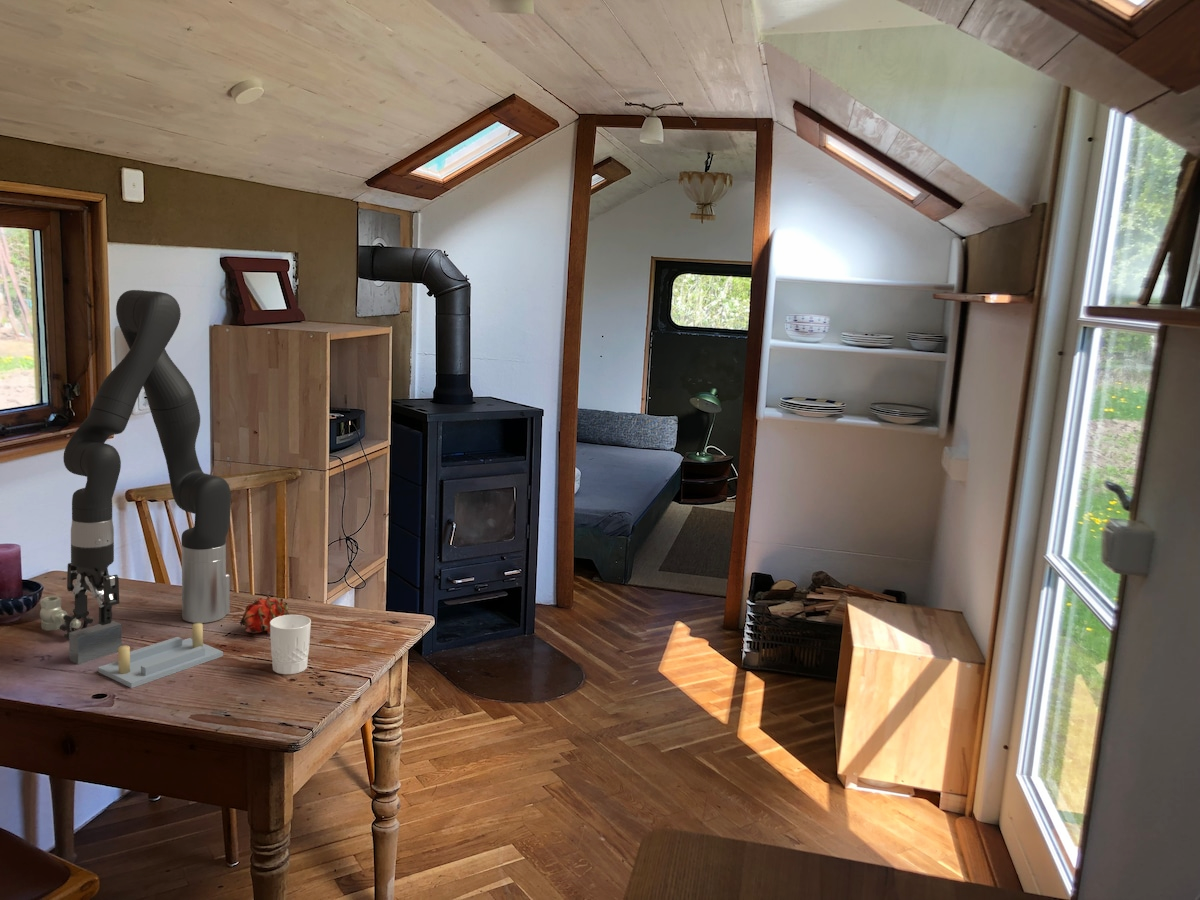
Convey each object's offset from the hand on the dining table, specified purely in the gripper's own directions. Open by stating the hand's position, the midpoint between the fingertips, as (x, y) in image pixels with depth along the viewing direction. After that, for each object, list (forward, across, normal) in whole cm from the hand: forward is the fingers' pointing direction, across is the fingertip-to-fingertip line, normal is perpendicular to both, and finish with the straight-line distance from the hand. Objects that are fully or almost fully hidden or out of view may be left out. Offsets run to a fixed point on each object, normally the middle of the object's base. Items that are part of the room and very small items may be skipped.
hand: (93, 618), depth 188 cm
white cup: (+8, -33, -22) cm, 40 cm away
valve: (+8, +16, -3) cm, 19 cm away
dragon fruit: (+8, -14, -31) cm, 34 cm away
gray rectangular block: (+8, 0, -1) cm, 8 cm away
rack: (+8, -13, -7) cm, 17 cm away
